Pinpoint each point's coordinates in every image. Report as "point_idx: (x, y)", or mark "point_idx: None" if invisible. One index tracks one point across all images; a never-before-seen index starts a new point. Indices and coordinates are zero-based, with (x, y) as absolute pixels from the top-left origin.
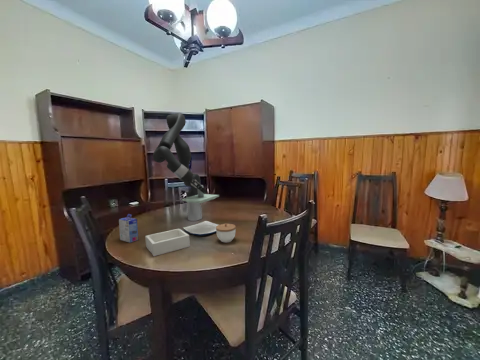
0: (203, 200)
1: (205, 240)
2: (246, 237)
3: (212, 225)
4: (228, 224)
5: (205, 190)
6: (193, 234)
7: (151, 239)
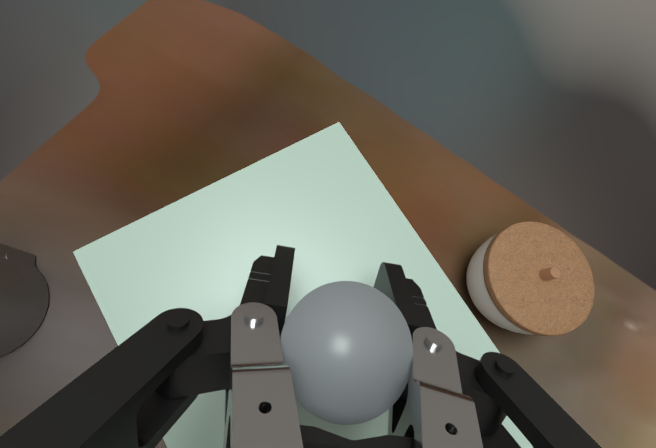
0: None
1: None
2: (496, 194)
3: None
4: (517, 246)
5: (403, 282)
6: None
7: None
